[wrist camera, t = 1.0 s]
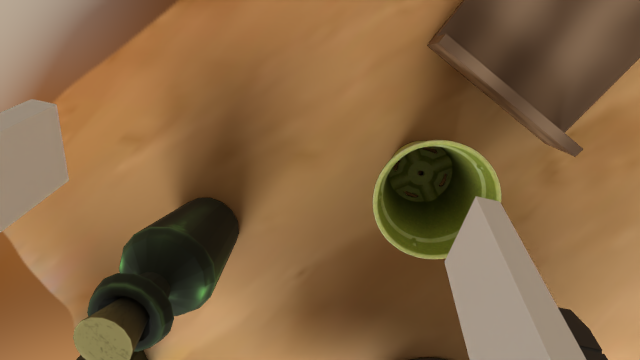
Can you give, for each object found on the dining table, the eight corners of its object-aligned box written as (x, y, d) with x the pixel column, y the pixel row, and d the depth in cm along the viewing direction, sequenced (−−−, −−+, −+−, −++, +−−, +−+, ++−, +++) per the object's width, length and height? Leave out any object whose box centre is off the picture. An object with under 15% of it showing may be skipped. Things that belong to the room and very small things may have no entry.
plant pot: (356, 200, 39) (356, 238, 30) (388, 109, 36) (397, 124, 28) (446, 228, 39) (470, 274, 30) (486, 139, 36) (524, 163, 28)
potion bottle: (157, 215, 41) (14, 325, 24) (213, 174, 39) (101, 261, 22) (206, 272, 43) (104, 414, 26) (262, 235, 41) (193, 361, 24)
